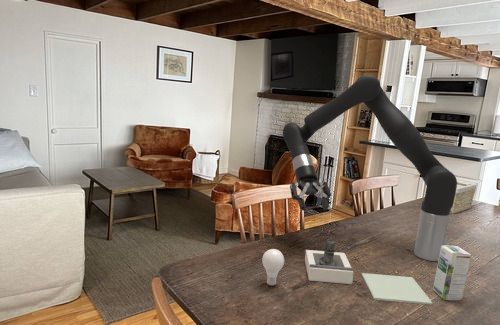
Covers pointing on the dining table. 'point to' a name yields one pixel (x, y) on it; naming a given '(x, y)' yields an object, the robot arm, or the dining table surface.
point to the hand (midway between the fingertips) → (315, 209)
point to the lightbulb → (272, 264)
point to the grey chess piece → (328, 254)
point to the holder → (328, 268)
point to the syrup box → (451, 272)
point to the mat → (395, 289)
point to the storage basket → (463, 196)
